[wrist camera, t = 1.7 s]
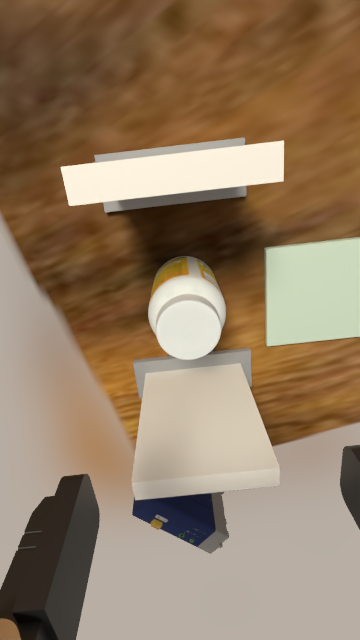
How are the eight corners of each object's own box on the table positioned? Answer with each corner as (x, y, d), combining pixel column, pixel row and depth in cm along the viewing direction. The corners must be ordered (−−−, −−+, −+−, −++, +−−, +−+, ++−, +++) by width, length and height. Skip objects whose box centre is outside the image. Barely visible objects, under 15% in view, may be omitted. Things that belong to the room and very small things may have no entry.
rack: (95, 155, 25) (27, 134, 13) (243, 138, 25) (310, 100, 13) (140, 394, 33) (122, 515, 21) (250, 383, 33) (295, 498, 21)
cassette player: (143, 408, 34) (130, 519, 23) (156, 393, 33) (149, 499, 22) (199, 442, 36) (212, 559, 25) (213, 428, 35) (233, 542, 24)
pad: (264, 247, 28) (266, 248, 27) (372, 235, 28) (376, 236, 27) (265, 343, 31) (266, 346, 31) (361, 333, 31) (365, 335, 31)
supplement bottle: (222, 262, 28) (245, 299, 20) (206, 319, 30) (220, 376, 22) (159, 248, 28) (154, 280, 19) (147, 307, 30) (138, 361, 21)
